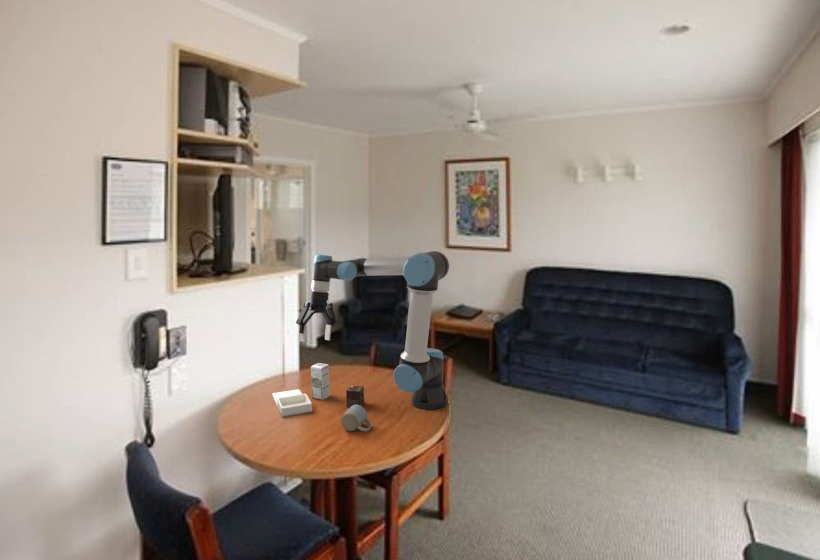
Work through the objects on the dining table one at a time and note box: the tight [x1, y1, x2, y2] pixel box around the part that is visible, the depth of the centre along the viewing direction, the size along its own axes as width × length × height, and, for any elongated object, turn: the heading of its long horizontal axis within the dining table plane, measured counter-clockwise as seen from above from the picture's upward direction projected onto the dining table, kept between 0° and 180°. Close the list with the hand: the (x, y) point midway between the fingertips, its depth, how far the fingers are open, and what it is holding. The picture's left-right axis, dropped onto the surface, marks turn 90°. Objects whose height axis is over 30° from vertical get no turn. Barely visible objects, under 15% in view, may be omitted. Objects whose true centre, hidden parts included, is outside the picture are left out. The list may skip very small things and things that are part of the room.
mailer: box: [271, 388, 313, 418], centre depth 205 cm, size 27×12×4 cm, turn 24°
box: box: [345, 385, 365, 408], centre depth 201 cm, size 6×6×7 cm
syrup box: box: [310, 362, 331, 401], centre depth 210 cm, size 6×6×14 cm
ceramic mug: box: [340, 405, 372, 432], centre depth 179 cm, size 11×8×8 cm
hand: (315, 340), depth 206 cm, fingers open, 13 cm apart
